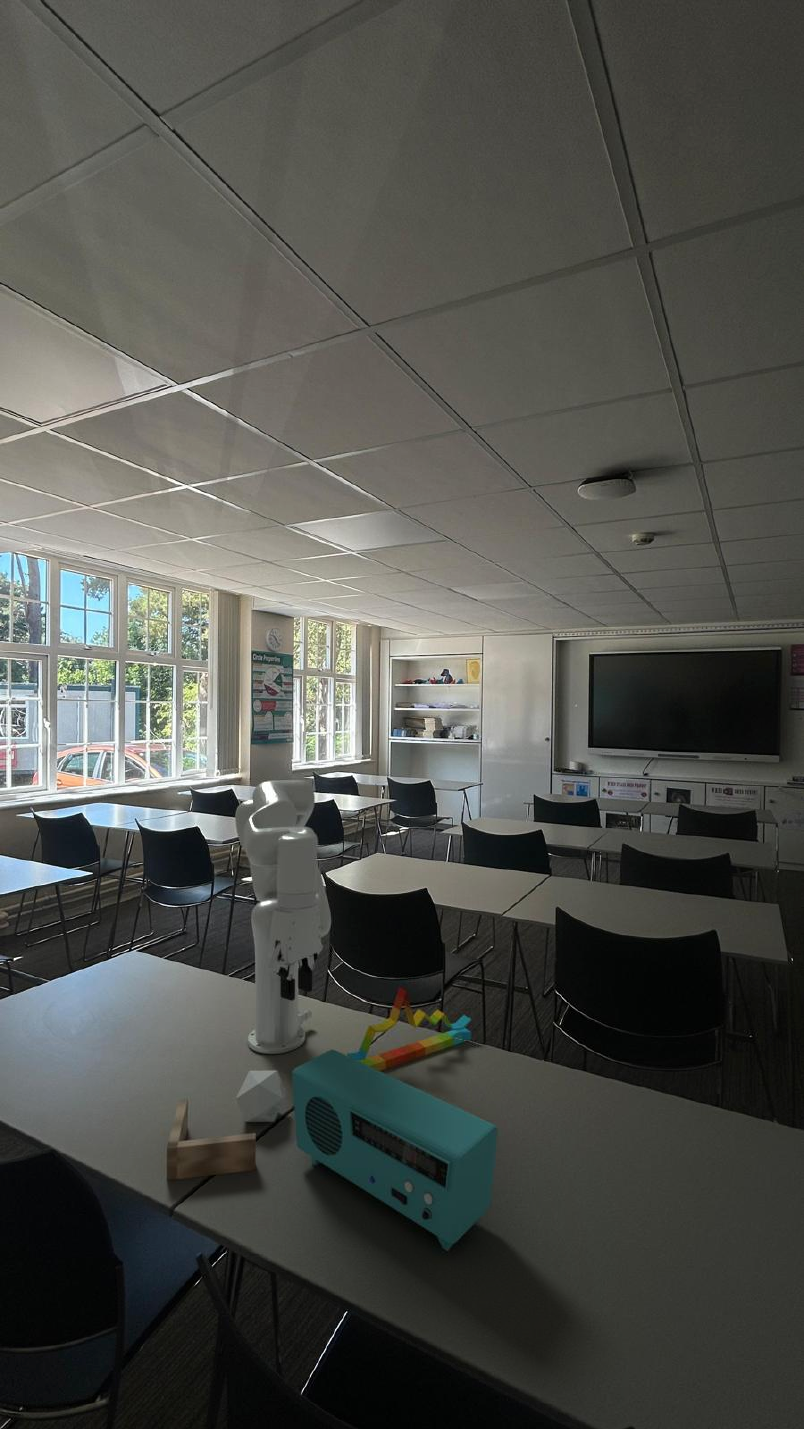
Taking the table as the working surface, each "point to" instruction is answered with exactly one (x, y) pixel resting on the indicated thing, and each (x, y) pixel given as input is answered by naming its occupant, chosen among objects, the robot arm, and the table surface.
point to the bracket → (206, 1151)
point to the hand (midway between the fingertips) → (296, 993)
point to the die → (261, 1096)
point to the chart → (415, 1048)
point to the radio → (396, 1143)
